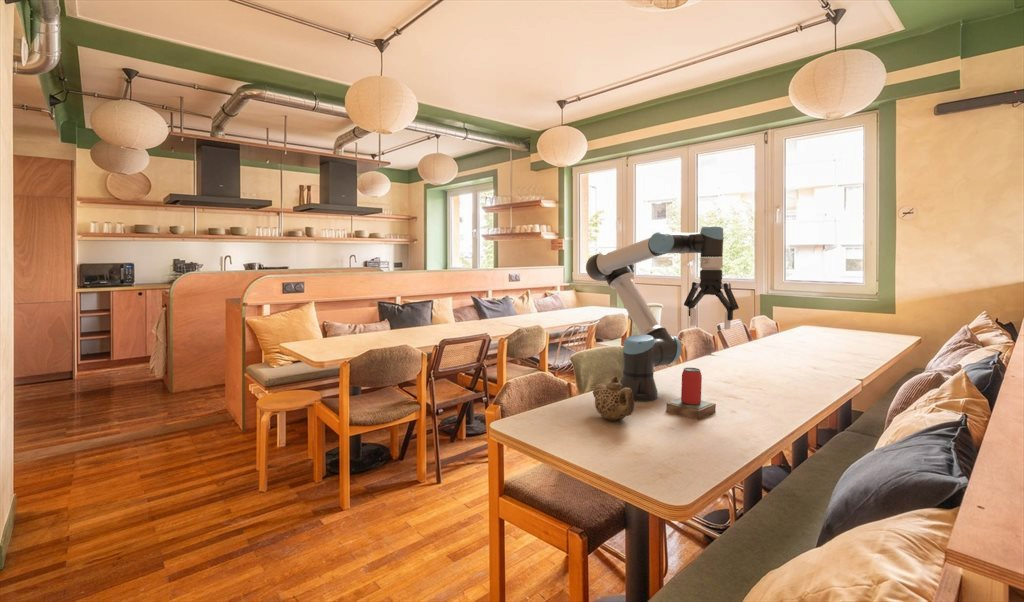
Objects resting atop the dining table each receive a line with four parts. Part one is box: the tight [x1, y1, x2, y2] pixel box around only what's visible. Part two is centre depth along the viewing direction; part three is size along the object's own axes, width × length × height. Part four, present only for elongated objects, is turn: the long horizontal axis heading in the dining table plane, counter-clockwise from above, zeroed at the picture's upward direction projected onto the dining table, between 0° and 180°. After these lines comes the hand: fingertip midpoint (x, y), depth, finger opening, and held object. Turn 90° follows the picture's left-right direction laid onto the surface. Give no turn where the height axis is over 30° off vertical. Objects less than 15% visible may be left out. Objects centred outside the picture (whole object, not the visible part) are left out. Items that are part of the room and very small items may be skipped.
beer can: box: [680, 367, 703, 405], centre depth 173 cm, size 7×7×12 cm
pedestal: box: [666, 397, 717, 421], centre depth 173 cm, size 12×12×3 cm
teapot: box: [592, 375, 635, 422], centre depth 164 cm, size 21×12×15 cm, turn 23°
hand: (709, 327), depth 181 cm, fingers open, 13 cm apart
